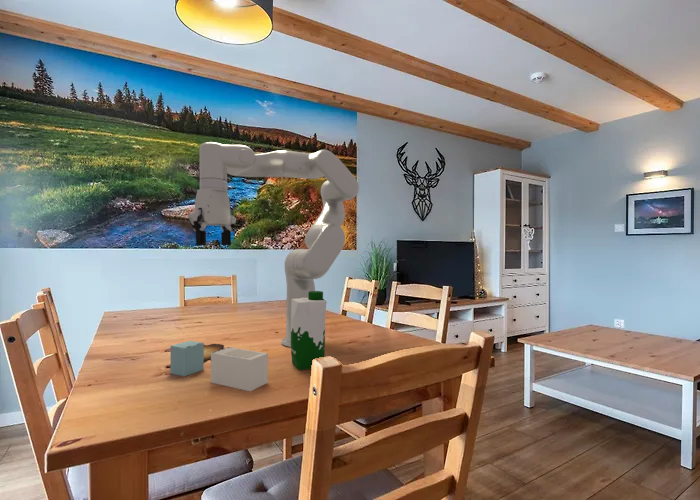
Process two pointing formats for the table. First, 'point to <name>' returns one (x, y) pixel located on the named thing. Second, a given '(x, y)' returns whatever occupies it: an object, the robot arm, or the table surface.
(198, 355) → the stub
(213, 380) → the block
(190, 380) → the table surface
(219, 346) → the parchment
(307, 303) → the milk carton
